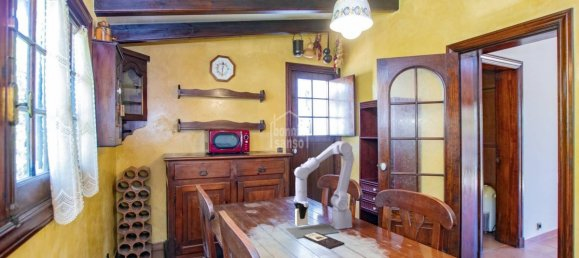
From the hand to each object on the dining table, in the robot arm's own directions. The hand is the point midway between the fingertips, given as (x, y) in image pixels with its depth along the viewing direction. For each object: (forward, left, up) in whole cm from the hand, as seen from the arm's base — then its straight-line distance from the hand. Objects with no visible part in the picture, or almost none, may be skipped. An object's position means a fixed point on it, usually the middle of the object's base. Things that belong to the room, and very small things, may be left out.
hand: (301, 217), depth 152 cm
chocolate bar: (-3, +17, -6) cm, 19 cm away
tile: (0, 0, -3) cm, 3 cm away
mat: (-4, +4, -6) cm, 8 cm away
